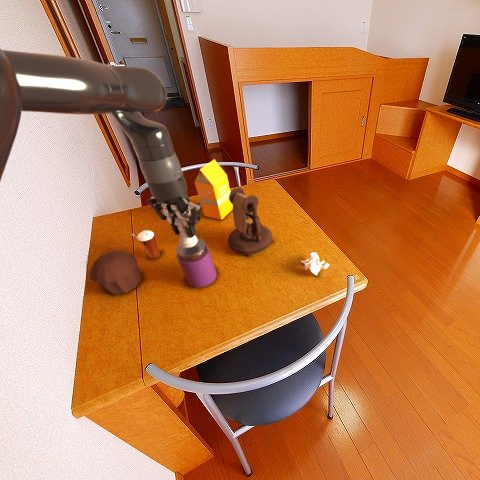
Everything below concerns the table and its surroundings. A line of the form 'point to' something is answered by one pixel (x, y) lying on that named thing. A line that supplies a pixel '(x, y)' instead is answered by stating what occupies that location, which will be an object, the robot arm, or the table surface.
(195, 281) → the jar
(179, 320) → the table surface
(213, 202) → the orange juice
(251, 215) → the scroll
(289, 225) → the table surface
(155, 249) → the milkshake
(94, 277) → the muffin
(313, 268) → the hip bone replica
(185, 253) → the jar lid
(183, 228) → the rook chess piece
